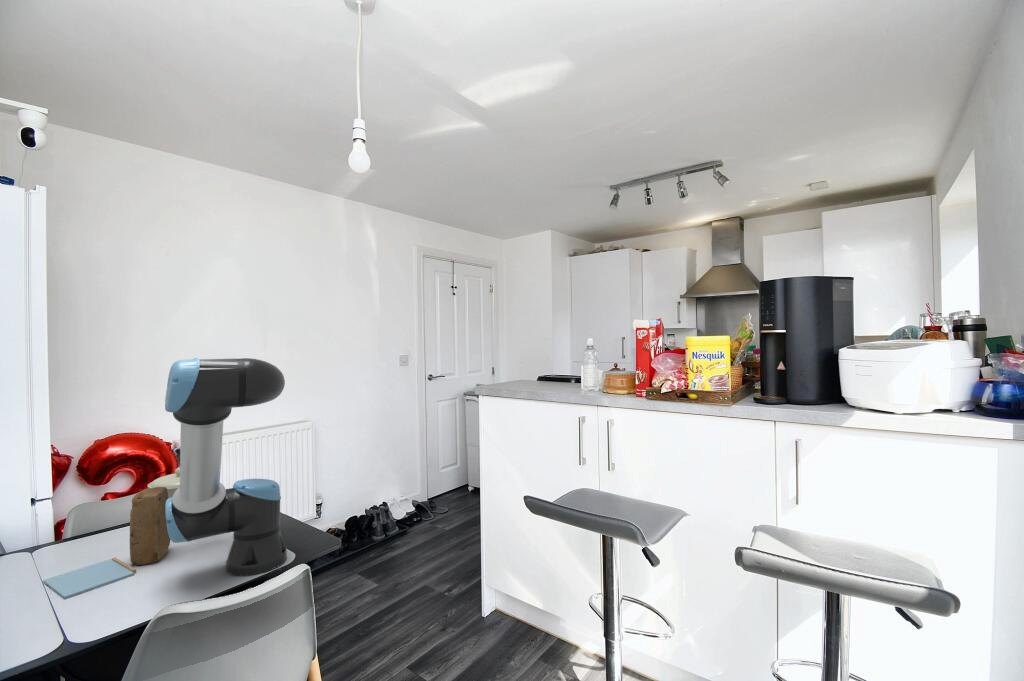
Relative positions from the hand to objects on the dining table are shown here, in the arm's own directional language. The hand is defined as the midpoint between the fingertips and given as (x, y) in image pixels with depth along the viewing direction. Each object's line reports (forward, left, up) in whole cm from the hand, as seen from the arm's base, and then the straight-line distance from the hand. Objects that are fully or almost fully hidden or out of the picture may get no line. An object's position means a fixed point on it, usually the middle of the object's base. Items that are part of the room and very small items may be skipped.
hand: (196, 498), depth 146 cm
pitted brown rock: (0, +12, -14) cm, 19 cm away
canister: (+17, -3, -14) cm, 22 cm away
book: (0, +26, -14) cm, 30 cm away
